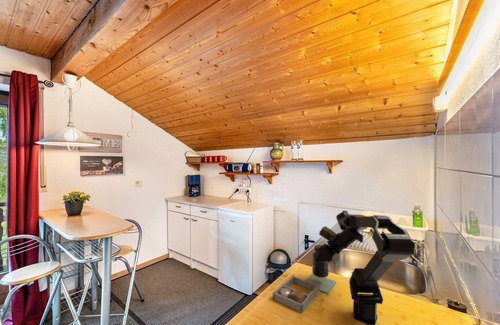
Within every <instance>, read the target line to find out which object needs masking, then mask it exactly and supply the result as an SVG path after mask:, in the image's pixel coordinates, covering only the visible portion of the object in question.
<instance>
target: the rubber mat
mask: <svg viewBox="0 0 500 325" xmlns="http://www.w3.org/2000/svg"><path fill="white" fill-rule="evenodd" d="M305 280H306V281H308V282H311V283H314V284H317V285H319V292H321V293H324V294H327V295H329V294H330V292H331V291H332V290H333V288H334V287H335V285H336V284H337V281H335V280H332V279H330V278H327V277H324V278H321V277H317V276H315V275H314V274H313V273H311V275H309V277H307V278H306V279H305Z"/></svg>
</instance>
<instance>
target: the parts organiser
mask: <svg viewBox="0 0 500 325" xmlns="http://www.w3.org/2000/svg"><path fill="white" fill-rule="evenodd" d="M293 284H295V285H297V286H300V287H304V288H306V289H308V290H311V292H310V293H309V294H307V293H305V300H304V301H303V302H302V303H298V302H296V301H294V300H292V299H289V298H287V297H285V296H282V295H281V289H282V288H288V289H290V290H291V293H292V292H293V291H294V290H295V289H296V288H295V289H294V288H293V287H291V286H292V285H293ZM319 292H320V291H319V285H317V284H314V283H311V282H308V281H306V279H303V278H300V277H297V276H295V275H292V276H291V277H290V278H288V280H286V281H285V282H284V283H282V284H281V286H279V287H278V288H276V290H274V291H273V292H272V300H273V301H275V302H277V303H279V304H281V305H284V306H286V307H289V308H291V309H293V310H296V311H297V312H299V313H304V311H305V310H306V309H307V307H308V306H309V305H310V304H311V303H312V301H313V300H314V299H315V297H317V295H318V294H319Z"/></svg>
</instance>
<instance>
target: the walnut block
mask: <svg viewBox="0 0 500 325" xmlns="http://www.w3.org/2000/svg"><path fill="white" fill-rule="evenodd" d="M305 294H306V292H304V291H303V290H302V291H301V290H299V289H297V288H295V290H294V291H293V292H292V293H291V297H290V299H292V300H294V301H296V302H298V303H302V302H303V301H304V300H305Z"/></svg>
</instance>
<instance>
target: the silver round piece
mask: <svg viewBox="0 0 500 325" xmlns="http://www.w3.org/2000/svg"><path fill="white" fill-rule="evenodd" d="M281 295H282V296H285V297H287V298H289V299H290V297H291V290H290V289H288V288H282V289H281Z"/></svg>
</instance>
